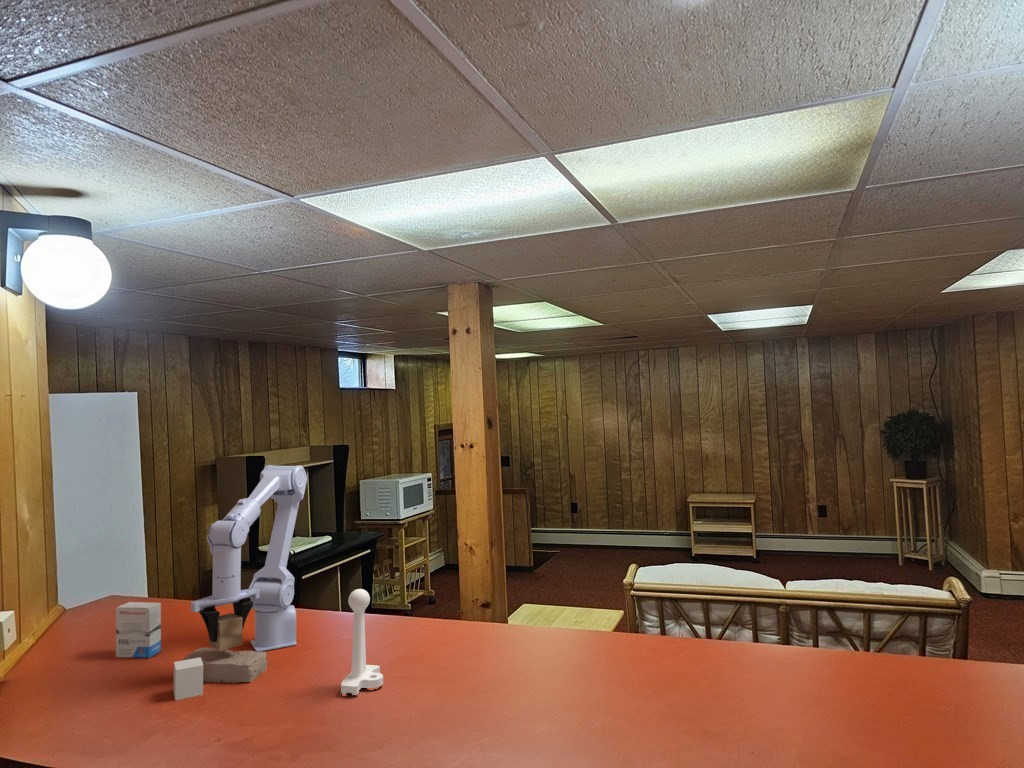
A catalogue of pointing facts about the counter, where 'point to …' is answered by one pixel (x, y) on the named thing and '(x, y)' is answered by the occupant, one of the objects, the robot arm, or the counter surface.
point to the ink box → (138, 630)
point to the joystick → (360, 650)
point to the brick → (230, 664)
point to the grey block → (188, 678)
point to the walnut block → (228, 632)
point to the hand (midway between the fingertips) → (225, 637)
